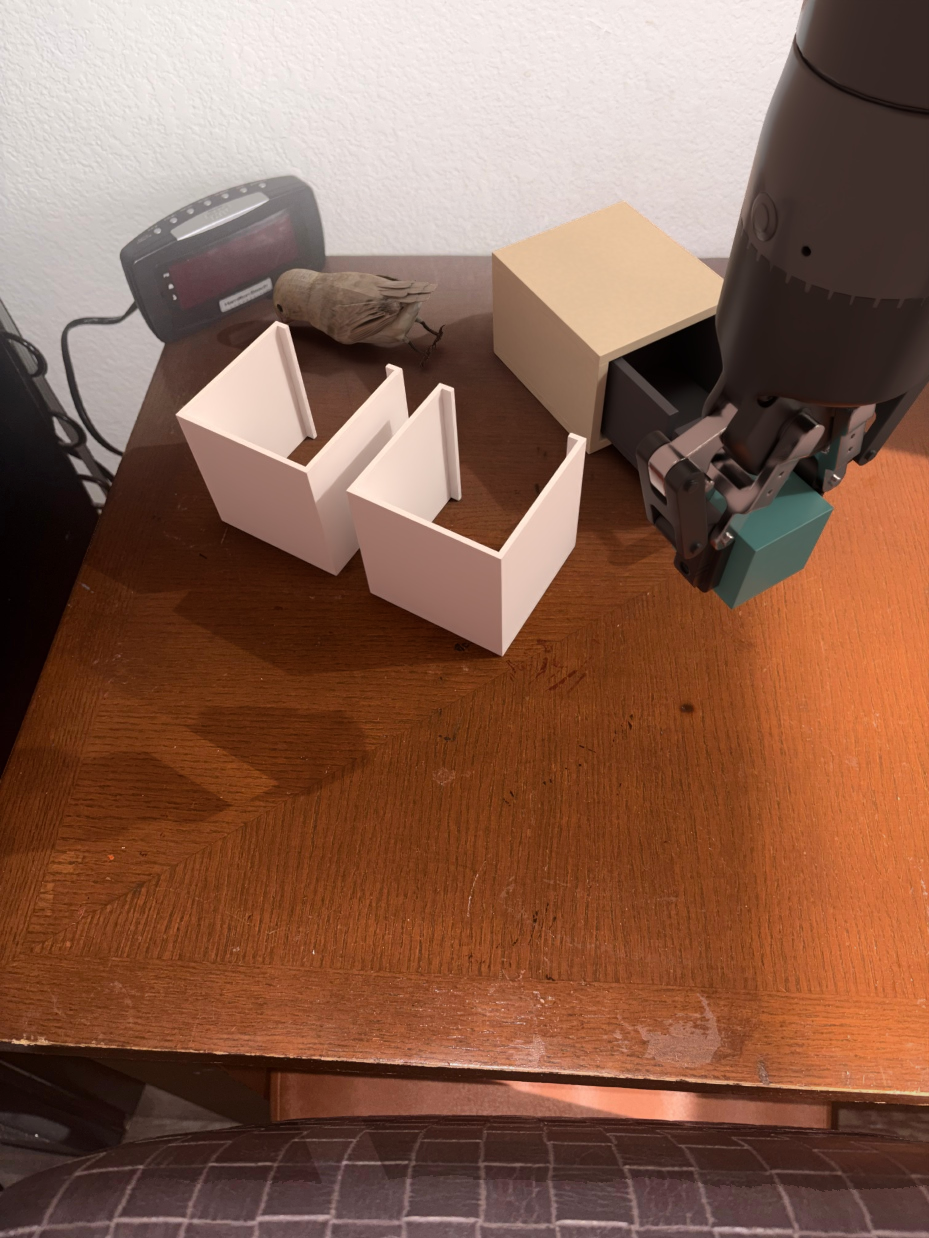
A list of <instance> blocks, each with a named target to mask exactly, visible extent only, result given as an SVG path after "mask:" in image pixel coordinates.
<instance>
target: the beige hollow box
mask: <svg viewBox="0 0 929 1238" xmlns="http://www.w3.org/2000/svg"><path fill="white" fill-rule="evenodd" d="M491 280H492V283H491V285H492V286H491V287H492V332H493V333H492V335H493V337H492V338H493V339H492V340H493V353H494V354H495V355H496V356H497V357H498V358H499V360H501V361H502V362H503V364H504V365H505V366H506V367H507V368H508V369H509V370H510V372H512V373H513V375H514V376H515V377H516V378H517V379H518V380H519V381H520V382H521V383H522V384H523V386H525V388H526V389H527V390H528V391H529V392H530V393H531V394H532V395H533V396H534V397H535V398H536V400H537V401H539V403H540V404H541V405H542V406H543V407H544V408H545V409H546V410H547V411H548V412H549V413H550V414H551V415H552V416H553V418H554V419H555V420H556V421H557V422H558V423H559V424H560V425H561V426H562V427H563V429H565V430H566V432H567V433H568V435H569V434H570V433H573V434H576V435H578V436H581V437H584V438H586V449H585V453H587V454H588V455H591V454H593V453H595V452H597V451H599V450H602V449H604V448H606V447H608V446H610V445H613V444H612V443H611V442H610V441H609V440H608V439H607V438H606V437H605V436H604V435H603V434H602V433H601V432H600V429H601V421H602V412H603V404H604V396H605V388H606V380H607V372H608V363H609V361H611V360H614V359H616V358H618V357H620V356H623V355H625V354H627V353H629V352H632V351H634V350H636V349H638V348H641V347H643V346H645V345H647V344H650V343H652V342H654V341H656V340H659V339H661V338H663V337H665V336H668V335H670V334H672V333H674V332H677V331H679V330H681V329H683V328H686V327H688V326H690V325H692V324H695V323H697V322H699V321H701V320H704V319H706V318H708V317H710V316H713V315H715V314H716V309H717V305H718V301H719V297H720V293H721V289H722V285H723V281H724V277H721V276H720V275H719V274H718V273H717V272H715V271H714V270H713V269H712V268H710V267H709V266H708V265H707V264H705V263H704V262H703V261H701V260H700V258H698V257H696V256H695V255H694V254H693V253H691V252H690V251H689V250H688V249H686V248H685V247H683V246H682V244H680V243H679V242H677V241H676V240H675V239H674V238H673V237H671V236H670V235H668V233H666V232H665V231H664V230H662V229H661V228H660V227H658V226H657V225H656V224H654V223H653V222H652V221H651V220H650V219H649V218H647V217H646V216H645V215H643V214H642V213H641V212H639V211H638V210H637V209H636V208H634V207H633V206H632V205H630V204H629V203H628V202H627V201H625V200H621V201H618V202H616V203H613V204H611V205H608V206H606V207H603V208H601V209H597V210H595V211H594V212H590V213H588V214H585V215H582V216H580V217H578V218H575V219H572V220H570V221H567V222H566V223H563V224H560V225H557V226H554V227H552V228H550V229H547V230H544V231H542V232H539V233H536V234H534V235H532V236H529V237H527V238H524V239H521V240H519V241H516V242H514V243H511V244H509V245H505V246H504V247H501V248H498V249H496V250H493V251H492V252H491Z"/></svg>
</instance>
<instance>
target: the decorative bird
mask: <svg viewBox="0 0 929 1238" xmlns="http://www.w3.org/2000/svg"><path fill="white" fill-rule="evenodd" d="M438 285H439V283H429V281H416V280H402V279H399V278H396V277H395V276H392V275H388V274H380V273H379V274H377V273H376V274H375V273H374V274H372V273H366V272H360V271H359V272H358V271H341V272H331V273H330V272H328V273H327V272H320V271H316V270H312V269H308V268H307V269H306V268H292V269H289V270H286V271H284V272H283V273H281V274H280V276H279V277H278V278H277V280H276V282H275V284H274V287H273V292H272V305H273V309H274V311H275V314H276V316H277V318H278V320H279V322H280V323H283V324H286V325H289V324H291V323H293V322H295V321H304V322H309V324H310V325H311V327H314V328H316V329H317V330H319V331H321V332H323V333H325V335H328V336H329V337H331V338H332V339H333V340H335V341H336V342H337V343H341V344H343V345H353V344H356V343H366V344H380V343H387V344H395V343H398V342H399V341H400V342H402V343H404V344H407V345H409V347H410V348H411V349H412V350H413V351H414V352H415V353H418V354H419V355H421V356H423V358H422V359H421V360H420V362H419V364H418V365H419V366H418V372H419V373H421V367H422V368H424V364H425V362H427V361H428V360H429V358H430V356H431V352H432V353H433V352H434V351H433V350H434V347H435V349H437V343H438V342H439V341H440V340H441V339H442V337H443V334H444V332H443V328H444V327H445V326H447V324H446V323H445V324H442V325H441V326H440V327H439V329H438V332H437V331H436V330H434V329H432V328H430V327H429V326H428V325H427V324H426V322H425V321H424V320H423V318H422V317H421V316H420V315H419V313H420V310H421V307H422V305H423V303H425V302H428V300H429V299H430V297H431V293H434V292H435V290H436V289H437V287H438ZM414 323H417V324H418V323H419V324H420V325H422V327H423V329H425V330H426V331H427V332H429V333H430V334H432V335H433V336H436V337H435V339H434V340H433V342H432V344H431V345H429V346H427V348H426V351H425V352H424V351H422V350H421V349H420V348H418V347H416V346H415V345H414V344H413V342H412V340H410V338H409V337H408V336H407V334H409V332H410V331H411V328H413V327H412V326H414Z"/></svg>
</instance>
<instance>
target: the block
mask: <svg viewBox="0 0 929 1238" xmlns="http://www.w3.org/2000/svg"><path fill="white" fill-rule="evenodd" d="M734 462H735V461H734ZM735 463H736V462H735ZM736 464H737V463H736ZM737 465H738V464H737ZM746 473H747V472H746ZM747 474H748V475H749V476H750V477H751V478H753V479H754V480H756V478H757V476H755V475H751V474H749V473H747ZM710 502H711V503H712V504H713V505H714V506H715V507H716V508H717V509H718V510H719V511H720V512H721V513H722V514H723V513H724V511H725V510H726V507H727V502H726V499H725V498H724V497H723V496H722V495H721V494H720V493H719V492H718V491H717V490H716V491H715V492H714V494H713V496H712V498H711V499H710ZM834 508H835V507H834V506H833V505H832V504H831V503H830V502H828V500H826V499H825V498H824V496H823V497H821V496H820V495H819V494H818V493H817V492H816V491H815V490H814V489H812V488H811V487H810V486H809V485H808V484H807V483H806V482H805V481H804V480H802V479H801V478H800V477H799V476H798V475H797V474H796V473H795V472H793V471H792V472H791V473H790V475H789V476H788V478H787V480H786V481H785V483H784V484H783V486H782V487H781V489H780V490H779V492H778V494H777V495H776V497H775V498H774V500H773V501H772V503H771V504H770V506H769V507H767V508H764V509H761V510H757V511H754V512H752V513H751V515H750V516H749V518H748V519H747V521H746V523H745V524H744V526H743V527H742V529H741V531H740V532H739V534H738V535H737V537H736V538H735V543H734V546H733V548H732V551H731V554H730V557H729V559H728V562H727V565H726V567H725V570H724V573H723V575H722V578H721V581H720V583H719V586H717V587H716V588H714V589H712V590H711V591H713V592H714V593H715V594H716V595H717V596H718V597H719V599H720V600H722V602H723V603H724V604H725V605H726V606H727V607H728V608H729V609H730V610H734V609H736V608H738V607H739V606H741V605H743V604H744V603H746V602H748V601H749V600H751V599H753V598H755V597H757V596H759V595H760V594H762V593H763V592H766V591H768V590H769V589H771V588H773V587H774V586H776V585H778V584H780V583H782V582H783V581H784V580H787V579H789V578H790V577H792V576H793V575H796V574H797V573H798V572H799V573H800V571H802V570H804V569H805V567H806V565H807V563H808V561H809V559H810V557H811V555H812V553H813V551H814V549H815V547H816V545H817V544H818V541H819V539H820V537H821V535H822V533H823V531H824V529H825V527H826V525H827V523H828V521H829V520H830V517H831V516H832V513H833V511H834ZM670 545H671V544H670ZM671 548H673V550H674V551H675V552H676V551H677V550H676V549H675V548H674V547H673V546H672V545H671Z"/></svg>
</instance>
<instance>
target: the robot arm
mask: <svg viewBox="0 0 929 1238" xmlns="http://www.w3.org/2000/svg"><path fill="white" fill-rule="evenodd" d="M800 8H801V9H800V11H799V15H798V20H797V23H796V27H795V33H794V35H793V39H792V41H791V45H790V48H789V52H788V54H787V57H786V60H785V63H784V67H783V68H782V72H781V74H780V76H779V78H778V81H777V84H776V86H775V89H774V91H773V93H772V96H771V99H770V101H769V105H768V107H767V110H766V113H765V115H764V119H763V123H762V125H761V129H760V134H759V137H758V141H757V145H756V149H755V153H754V157H753V161H752V165H751V169H750V173H749V177H748V181H747V185H746V188H745V193H744V197H743V201H742V204H741V209H740V213H739V218H738V221H737V224H736V225H737V226H736V229H735V233H734V237H733V240H732V245H731V249H730V253H729V257H728V261H727V265H726V269H725V273H724V276H723V279H724V281H723V285H722V289H721V293H720V297H719V301H718V305H717V309H716V317H715V324H716V332H717V337H718V342H719V346H720V351H721V357H722V365H723V370H722V373H721V376H720V378H719V380H718V382H717V384H716V385H715V387H714V389H713V390H712V392H711V393H710V395H709V396H708V398H707V399H706V401H705V403H704V406H703V409H702V420H701V421H700V422H699V423H697V424H696V425H694V426H693V427H692V428H690V429H689V430H687V431H686V432H685V433H683V434H682V435H680V436H679V437H678V438H676V439H675V440H673V441H672V442H671V441H670V440H669V439H668V438H667V437H666V436H665V435H664V434H663V433H662V432H660V431H653V432H651V433H649V434H648V435H646V436H645V437H644V438H643V439H642V440H641V441H640V443H639V444H638V446H637V448H636V458H637V464H638V470H639V471H638V470H637V471H638V474H639V480H640V486H641V491H642V497H643V503H644V507H645V514H646V519H647V520H648V521H649V522H650V524H651V525H652V526H653V527H654V529H656V530H657V532H659V534H661V535H662V536H663V537H664V538H665V540H666V541H667V542H668V543H669V544H670V545H672V546H673V547H674V548H675V549H676V550H677V551H676V550H675V549H674V548H673V547H672V546H671V547H672V548H673V549H674V550H675V555H674V558H673V566H674V568H675V569H676V570H677V571H678V572H679V574H680V575H681V576H682V577H683V578H684V579H685V580H686V581H687V582H688V583H689V584H690V585H691V586H692V587H693V589H695V588H697V589H698V590H699V591H700V592H701V593H703V594H707V593H709V592H710V591H713V590H712V589H714V588H716V587H717V586H719V583H720V581H721V578H722V575H723V573H724V570H725V567H726V565H727V562H728V559H729V557H730V554H731V551H732V548H733V546H734V543H735V538H736V537H737V535H738V534H739V532H740V531H741V529H742V527H743V526H744V524H745V523H746V521H747V519H748V518H749V516H750V515H751V513H752V512H754V511H757V510H761V509H764V508H767V507H769V506H770V504H771V503H772V501H773V500H774V498H775V497H776V495H777V494H778V492H779V490H780V489H781V487H782V486H783V484H784V483H785V481H786V480H787V478H788V476H789V475H790V473H791V472H792V471H793V472H795V473H796V474H797V475H798V476H799V477H800V478H801V479H802V480H804V481H805V482H806V483H807V484H808V485H809V486H810V487H811V488H812V489H814V490H815V491H816V492H817V493H818V494H819V495H820V496H821V497H823V498H824V495H825V493H828V492H830V491H832V490H834V489H835V488H836V487H838V486H839V485H840V484H841V483H842V481H843V479H844V478H845V476H846V474H847V468H848V465H849V464H850V463H852V461H853V462H855V464H856V465H858V466H859V467H862V466H865V465H867V464H868V463H869V462H871V461H873V460H874V459H875V458H876V456H878V454H879V452H880V451H881V449H882V448H883V446H884V445H885V444H886V442H887V441H888V439H889V438H890V436H891V435H892V434H893V433H894V431H895V430H896V428H897V427H898V425H900V423H901V421H902V420H903V418H904V417H905V416H906V414H907V413H908V411H910V408H911V407H912V406H913V404H915V402H916V400H917V399H918V398H919V396H920V394H921V393H922V392H923V391H924V389H925V387H926V386H927V385H928V383H929V0H802V3H801V7H800ZM874 415H875V419H874V420H873V422H872V424H871V425H870V426H869V428H868V429H867V430H866V426H867V421H869V420H870V419H871V418H873V417H874ZM734 461H735V462H736V463H737V464H738V465H737V464H736V463H735V462H734ZM746 472H747V473H749V474H751V475H755V476H757V478H756V480H754V479H753V478H751V477H750V476H749V475H748V474H747V473H746ZM716 490H717V491H718V492H719V493H720V494H721V495H722V496H723V497H724V498H725V499H726V502H727V507H726V510H725V511H724V513H723V514H722V513H721V512H720V511H719V510H718V509H717V508H716V507H715V506H714V505H713V504H712V503H711V502H710V499H711V498H712V496H713V494H714V492H715V491H716Z"/></svg>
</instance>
